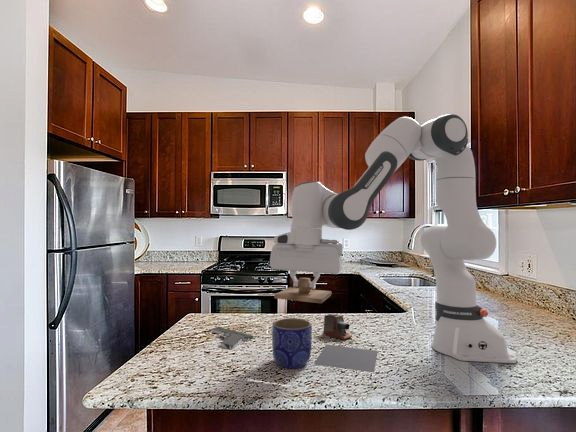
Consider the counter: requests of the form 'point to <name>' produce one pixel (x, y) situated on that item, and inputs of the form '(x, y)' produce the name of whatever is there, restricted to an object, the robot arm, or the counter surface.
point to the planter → (291, 342)
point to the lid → (303, 293)
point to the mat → (348, 358)
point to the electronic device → (336, 327)
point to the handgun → (231, 337)
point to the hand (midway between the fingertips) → (304, 287)
